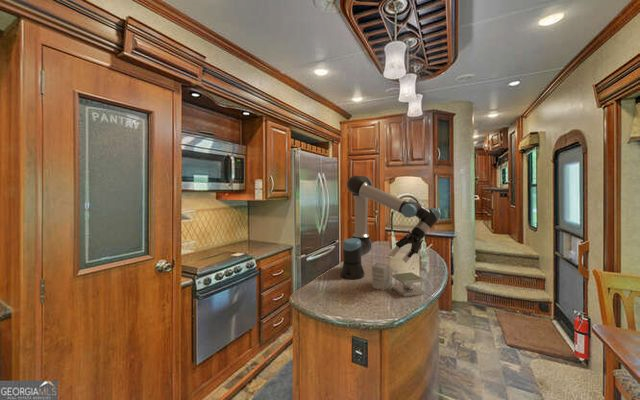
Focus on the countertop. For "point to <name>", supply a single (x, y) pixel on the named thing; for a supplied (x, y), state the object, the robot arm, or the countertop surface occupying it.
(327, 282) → the countertop surface
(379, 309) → the countertop surface
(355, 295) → the countertop surface
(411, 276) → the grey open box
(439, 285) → the countertop surface
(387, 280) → the supplement box
